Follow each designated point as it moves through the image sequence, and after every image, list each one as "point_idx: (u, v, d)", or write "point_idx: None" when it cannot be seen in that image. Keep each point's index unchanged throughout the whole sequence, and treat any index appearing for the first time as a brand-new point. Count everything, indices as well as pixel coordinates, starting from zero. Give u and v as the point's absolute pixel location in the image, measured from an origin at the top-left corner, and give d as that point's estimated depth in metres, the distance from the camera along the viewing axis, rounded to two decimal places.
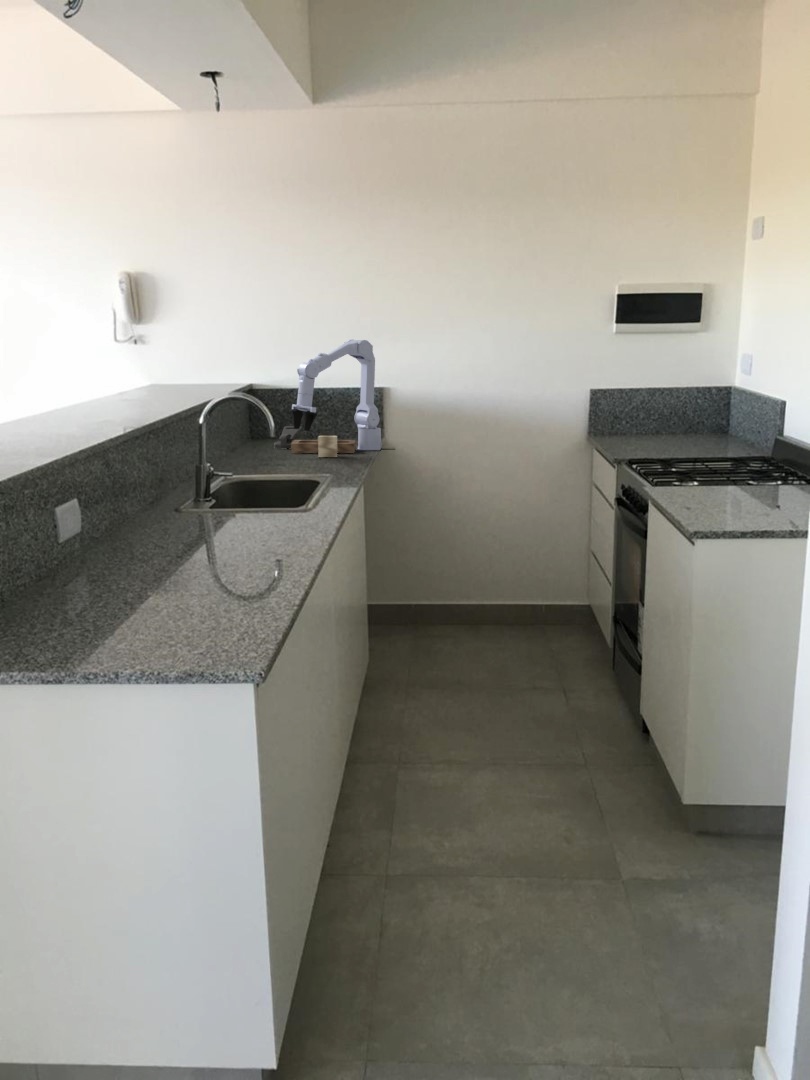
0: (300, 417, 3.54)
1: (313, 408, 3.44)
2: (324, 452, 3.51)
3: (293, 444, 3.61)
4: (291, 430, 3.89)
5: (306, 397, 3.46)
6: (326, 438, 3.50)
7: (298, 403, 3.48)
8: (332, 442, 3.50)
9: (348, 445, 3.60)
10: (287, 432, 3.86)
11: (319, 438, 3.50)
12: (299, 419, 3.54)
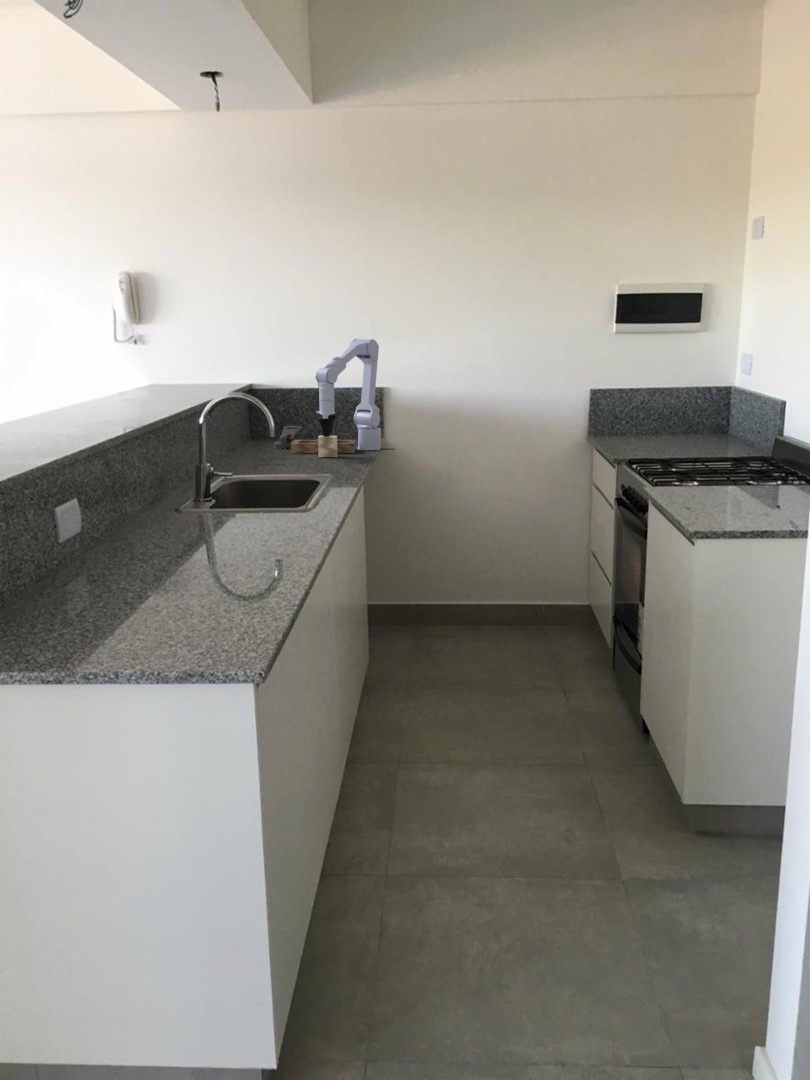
0: None
1: (324, 414, 3.42)
2: (324, 452, 3.51)
3: (293, 444, 3.61)
4: (291, 430, 3.89)
5: (323, 403, 3.46)
6: (326, 438, 3.50)
7: None
8: (332, 442, 3.50)
9: (348, 445, 3.60)
10: (287, 432, 3.86)
11: (319, 438, 3.50)
12: (330, 424, 3.54)
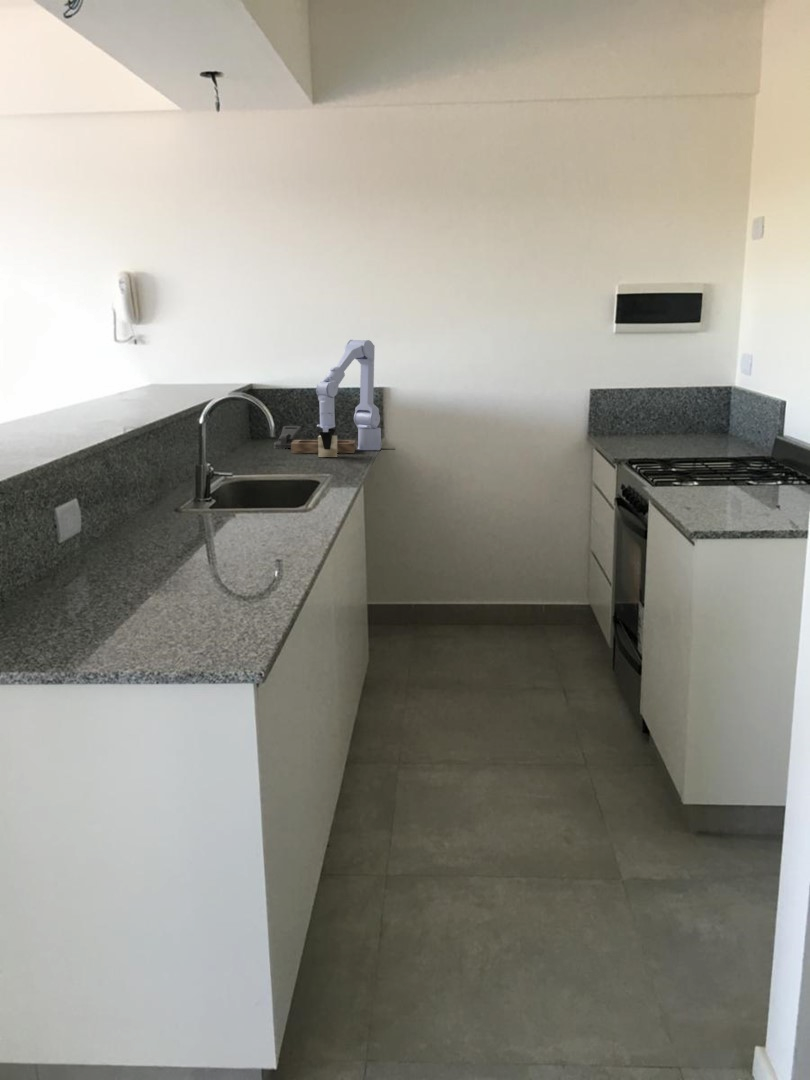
0: None
1: (324, 428, 3.44)
2: (324, 451, 3.51)
3: (293, 444, 3.61)
4: (290, 430, 3.89)
5: (323, 417, 3.47)
6: None
7: (320, 423, 3.50)
8: (332, 441, 3.50)
9: (348, 445, 3.60)
10: (287, 432, 3.86)
11: (319, 438, 3.50)
12: None
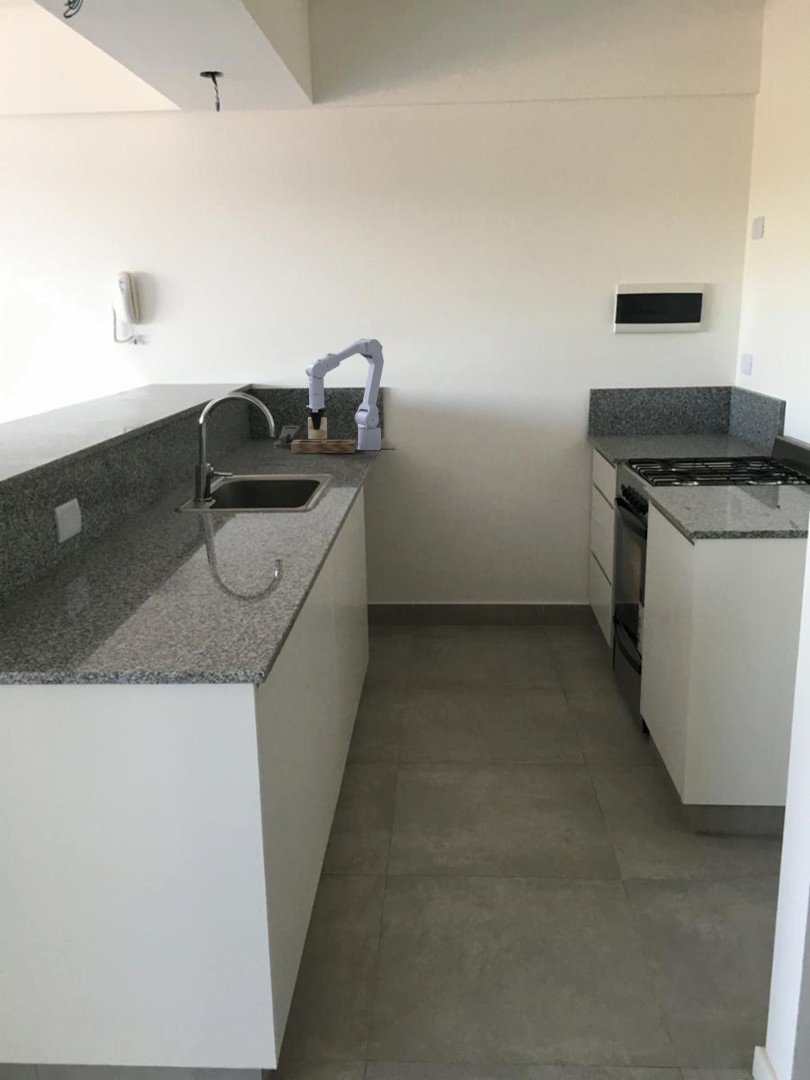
0: None
1: (314, 408, 3.49)
2: (314, 433, 3.57)
3: (293, 444, 3.61)
4: (290, 430, 3.89)
5: (313, 397, 3.53)
6: None
7: None
8: (322, 423, 3.56)
9: (348, 445, 3.60)
10: (286, 432, 3.87)
11: (309, 419, 3.56)
12: None
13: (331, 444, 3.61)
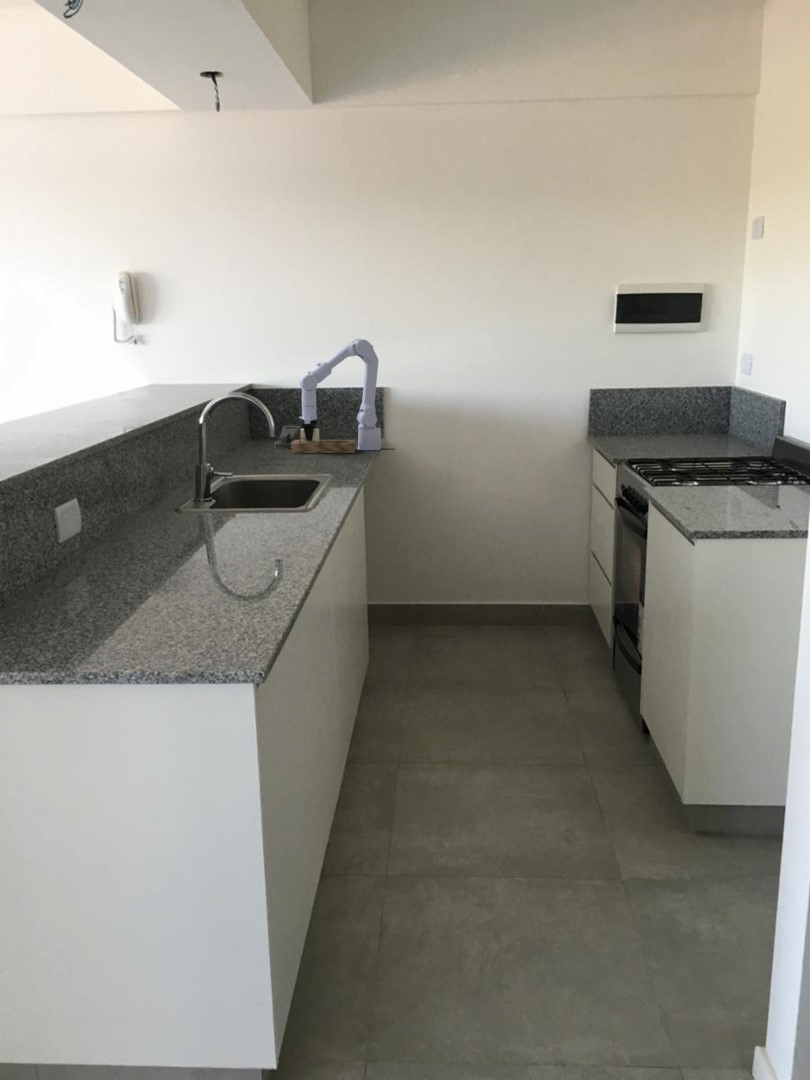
0: None
1: (306, 420, 3.56)
2: None
3: (293, 444, 3.61)
4: (290, 430, 3.90)
5: (305, 409, 3.60)
6: None
7: (302, 415, 3.63)
8: (314, 434, 3.63)
9: (348, 445, 3.60)
10: (286, 432, 3.87)
11: (301, 431, 3.62)
12: None
13: (331, 444, 3.61)
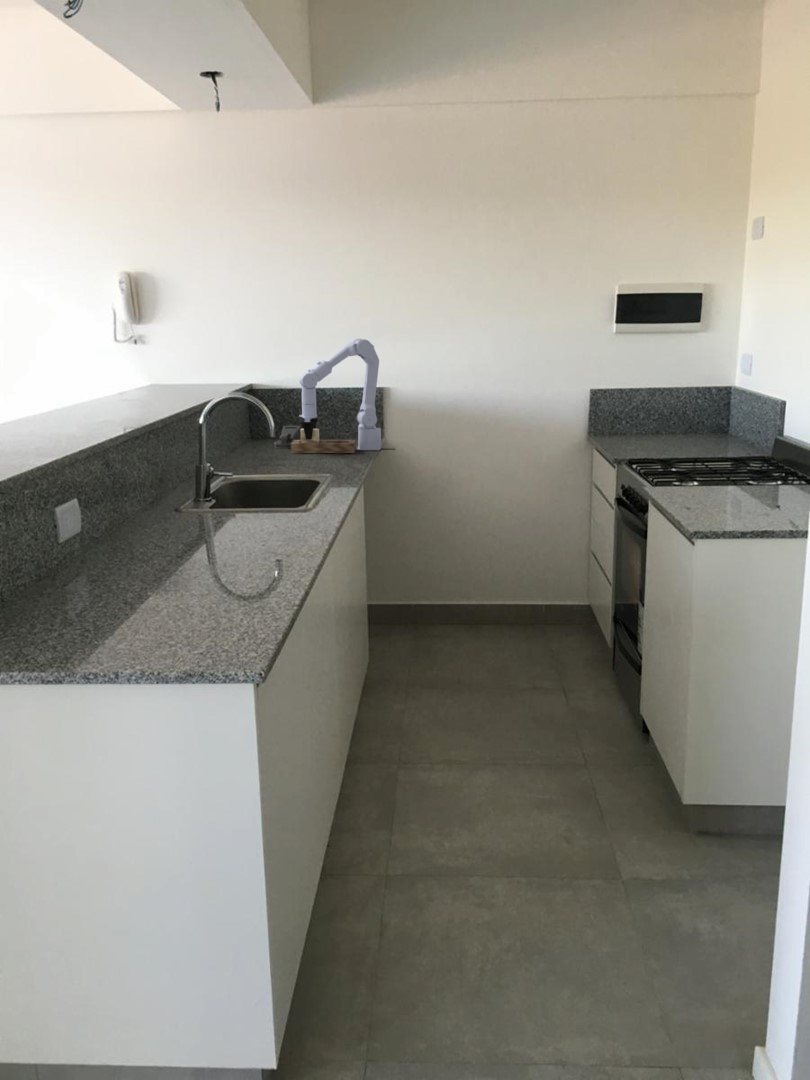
0: (313, 425, 3.68)
1: (306, 418, 3.56)
2: None
3: (293, 444, 3.61)
4: (290, 430, 3.90)
5: (305, 407, 3.60)
6: None
7: (302, 413, 3.63)
8: (314, 434, 3.63)
9: (348, 445, 3.60)
10: (287, 432, 3.87)
11: (301, 431, 3.62)
12: (313, 427, 3.68)
13: (331, 444, 3.61)
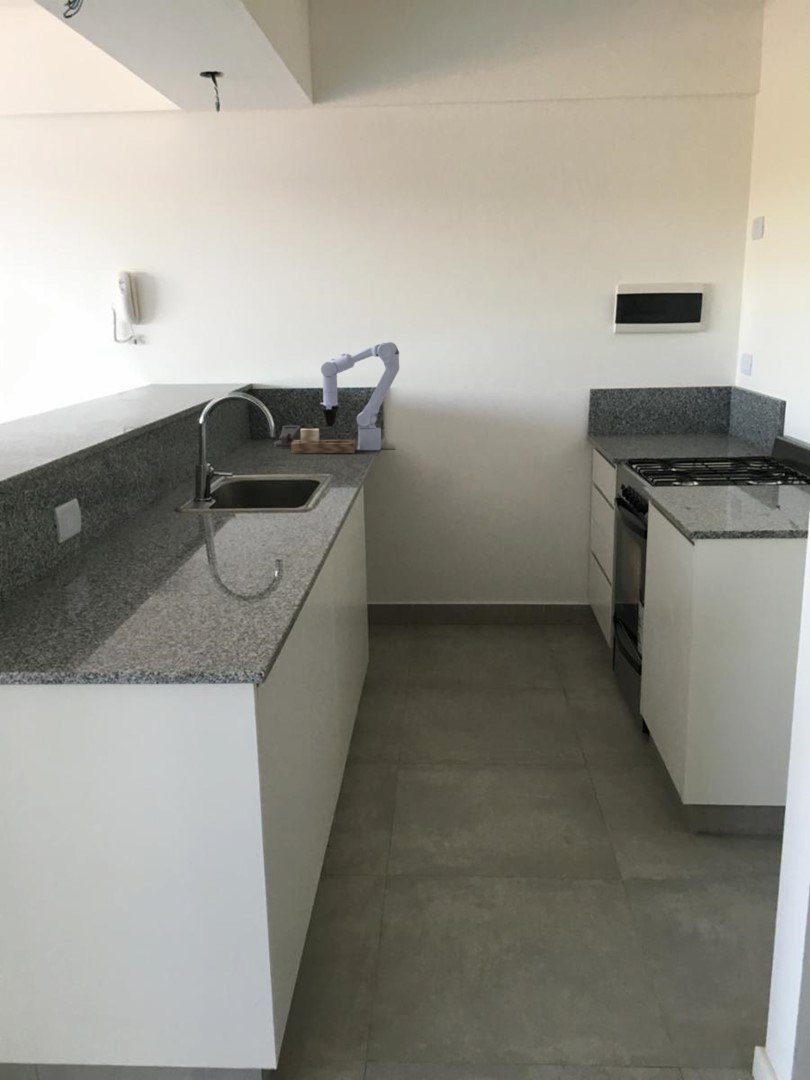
0: (334, 413, 3.76)
1: (327, 405, 3.65)
2: None
3: (293, 444, 3.61)
4: (290, 429, 3.91)
5: (327, 395, 3.68)
6: (308, 431, 3.62)
7: (323, 401, 3.71)
8: (314, 434, 3.63)
9: (348, 445, 3.60)
10: (286, 431, 3.88)
11: (301, 431, 3.62)
12: (333, 415, 3.76)
13: (331, 444, 3.61)
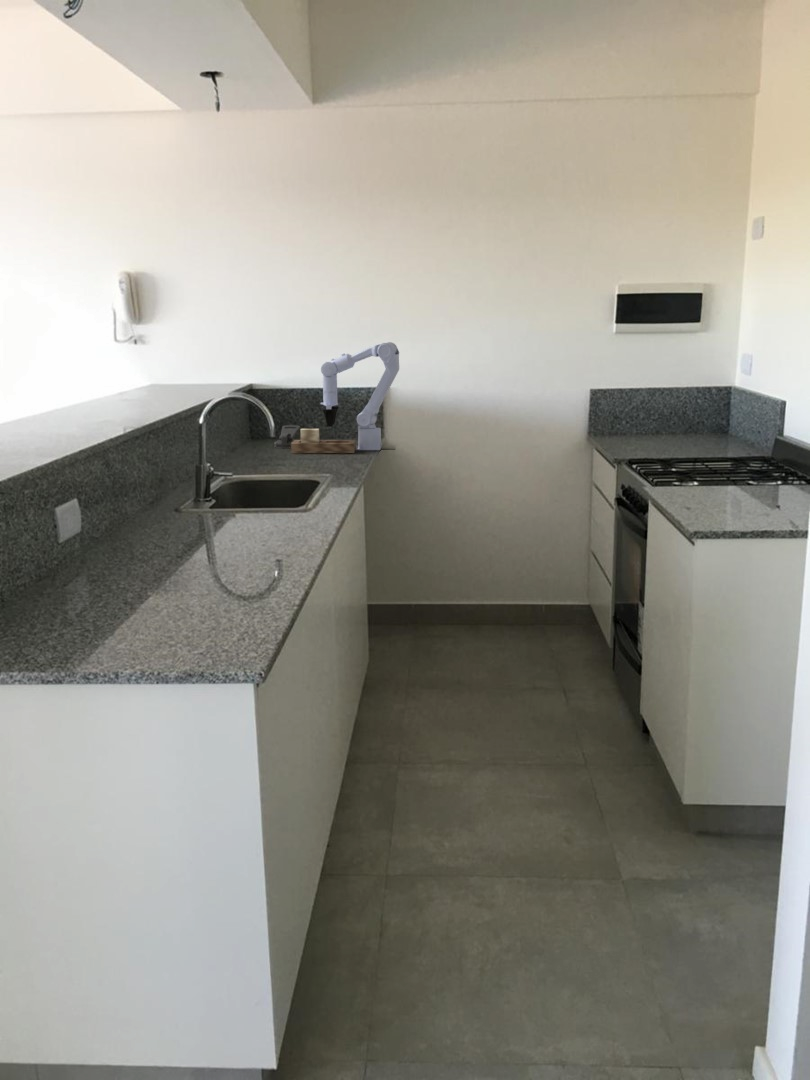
0: (334, 413, 3.76)
1: (327, 405, 3.65)
2: None
3: (293, 444, 3.61)
4: (290, 429, 3.91)
5: (327, 395, 3.68)
6: (308, 431, 3.62)
7: (323, 401, 3.71)
8: (314, 434, 3.63)
9: (348, 445, 3.60)
10: (286, 431, 3.88)
11: (301, 431, 3.62)
12: (333, 415, 3.76)
13: (331, 444, 3.61)
